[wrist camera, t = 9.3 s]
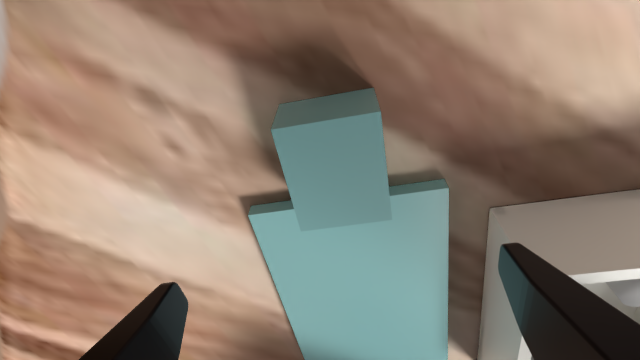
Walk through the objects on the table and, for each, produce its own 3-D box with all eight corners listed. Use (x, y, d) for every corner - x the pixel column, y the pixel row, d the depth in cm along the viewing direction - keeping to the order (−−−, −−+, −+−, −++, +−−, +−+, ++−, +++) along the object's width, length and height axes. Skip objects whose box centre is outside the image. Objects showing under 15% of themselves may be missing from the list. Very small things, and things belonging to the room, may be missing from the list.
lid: (217, 115, 15) (198, 141, 13) (444, 75, 14) (463, 97, 12) (310, 361, 26) (308, 397, 24) (444, 350, 25) (454, 387, 22)
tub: (489, 208, 17) (532, 279, 14) (692, 182, 16) (801, 251, 13) (476, 363, 25) (502, 436, 21) (616, 353, 24) (669, 429, 20)
